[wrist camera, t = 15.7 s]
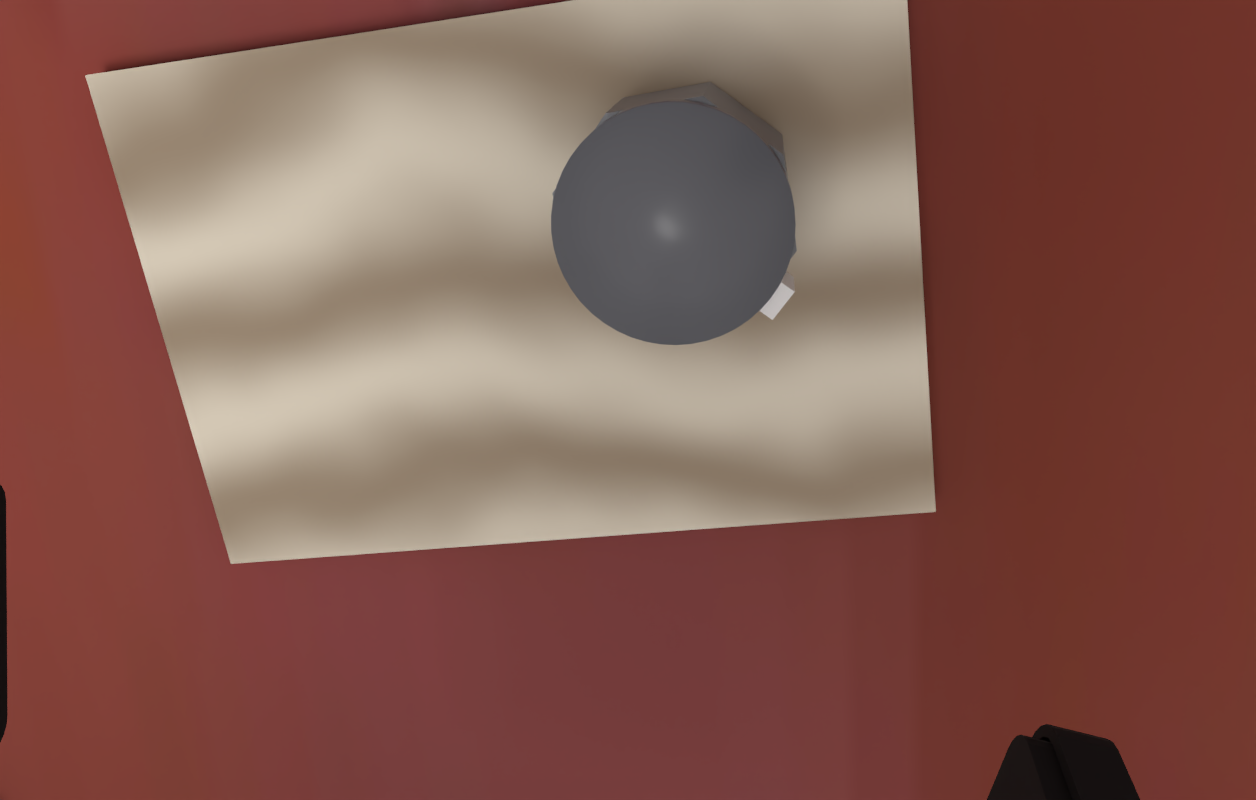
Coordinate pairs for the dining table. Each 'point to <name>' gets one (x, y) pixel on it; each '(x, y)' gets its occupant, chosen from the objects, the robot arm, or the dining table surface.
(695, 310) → the cap
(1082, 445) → the dining table surface
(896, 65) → the board
